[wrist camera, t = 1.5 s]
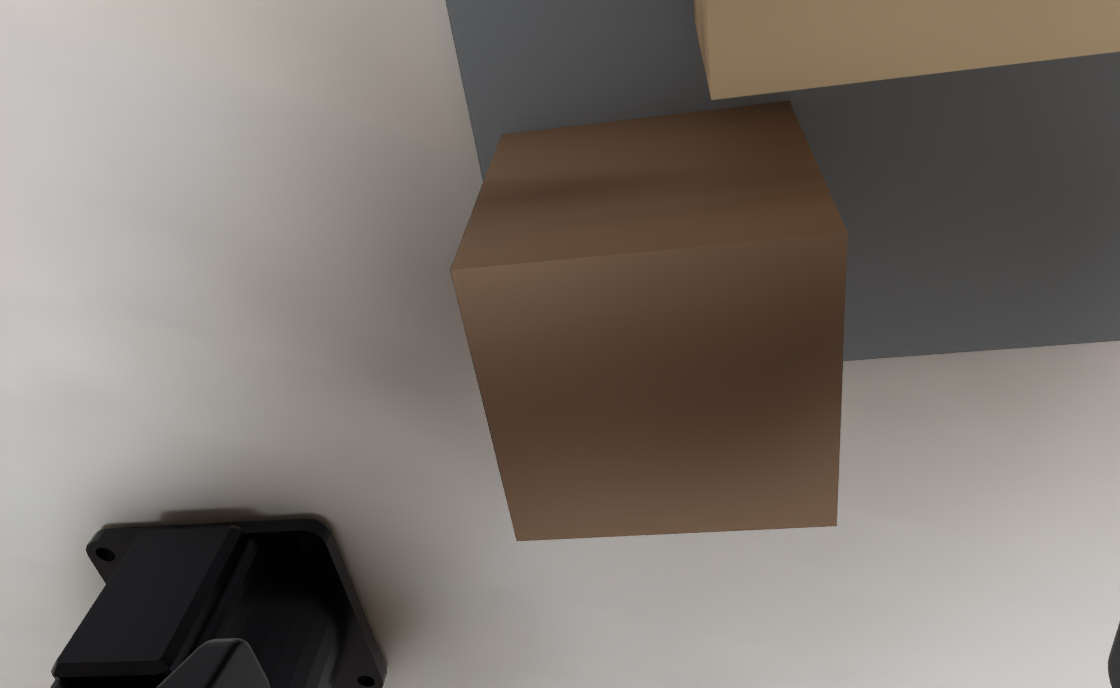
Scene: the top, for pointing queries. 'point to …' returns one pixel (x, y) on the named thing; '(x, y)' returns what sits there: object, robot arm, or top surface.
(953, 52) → the oak base block
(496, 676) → the top surface
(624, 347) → the walnut cube
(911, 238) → the mat
